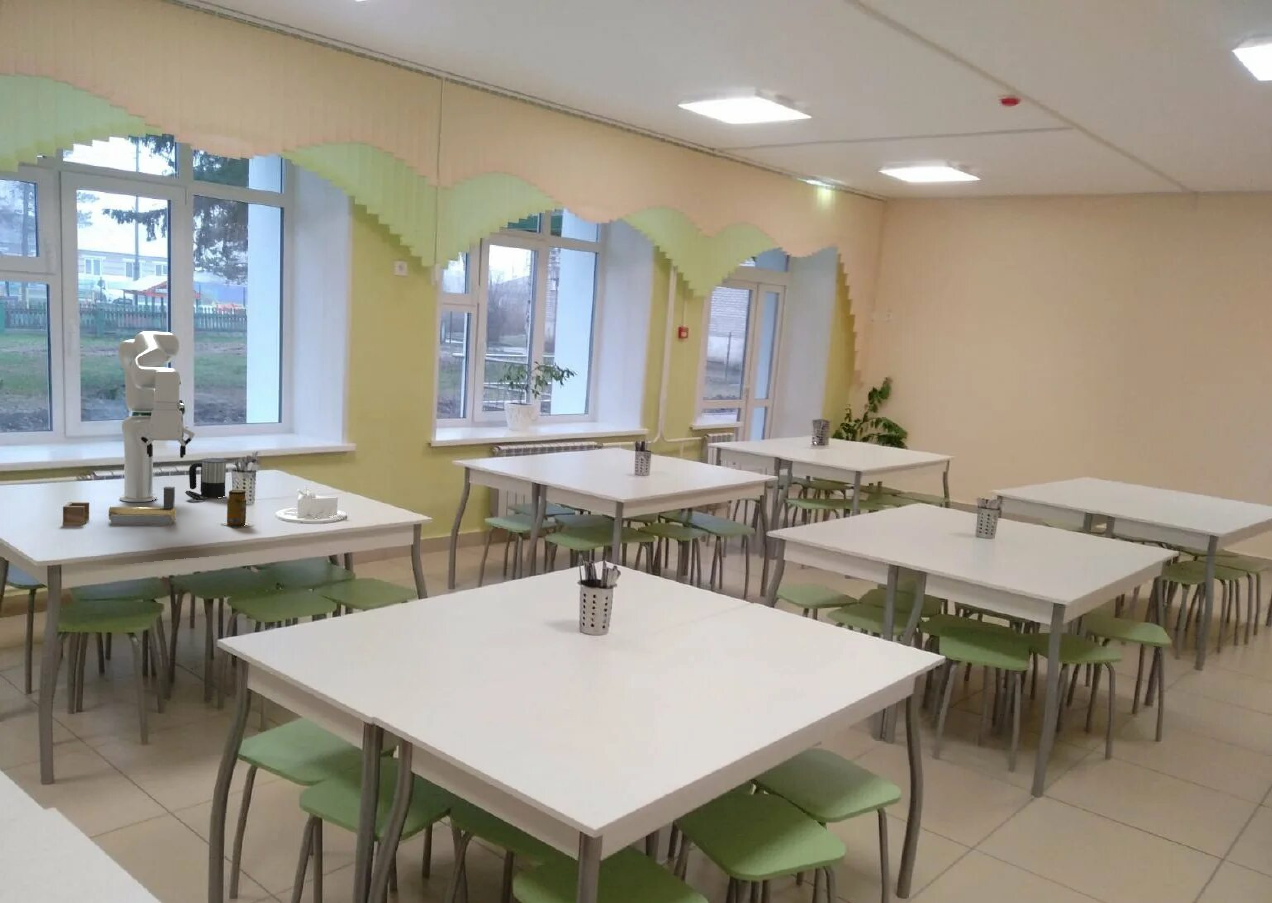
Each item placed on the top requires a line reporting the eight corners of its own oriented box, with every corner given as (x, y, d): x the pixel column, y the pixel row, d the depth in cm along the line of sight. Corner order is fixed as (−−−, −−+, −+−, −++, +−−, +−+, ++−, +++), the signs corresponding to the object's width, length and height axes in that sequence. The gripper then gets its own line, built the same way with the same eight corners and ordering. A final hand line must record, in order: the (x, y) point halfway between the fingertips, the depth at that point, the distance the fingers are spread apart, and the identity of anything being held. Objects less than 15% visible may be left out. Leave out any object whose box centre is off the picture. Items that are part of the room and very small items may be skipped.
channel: (115, 520, 326) (115, 510, 326) (173, 520, 332) (173, 511, 332) (110, 525, 319) (110, 515, 318) (170, 525, 325) (170, 515, 324)
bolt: (111, 518, 324) (111, 485, 323) (176, 518, 331) (176, 486, 329) (108, 521, 320) (108, 487, 319) (174, 521, 326) (174, 488, 325)
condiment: (239, 521, 337) (239, 488, 336) (254, 526, 333) (255, 492, 331) (220, 524, 331) (221, 490, 330) (235, 528, 327) (236, 494, 325)
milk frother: (226, 494, 382) (227, 458, 380) (225, 502, 368) (225, 464, 366) (187, 494, 377) (188, 457, 375) (184, 502, 363) (184, 463, 361)
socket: (69, 519, 322) (69, 502, 321) (89, 519, 324) (89, 502, 323) (63, 524, 314) (63, 506, 314) (83, 524, 316) (83, 507, 316)
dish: (272, 523, 339) (273, 492, 338) (278, 509, 363) (278, 480, 362) (345, 524, 346) (346, 494, 345) (345, 510, 370) (346, 482, 369)
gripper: (196, 406, 328) (195, 456, 330) (140, 404, 323) (140, 454, 325) (193, 408, 321) (192, 459, 323) (136, 406, 316) (135, 457, 318)
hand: (166, 456), depth 324 cm, fingers open, 9 cm apart
